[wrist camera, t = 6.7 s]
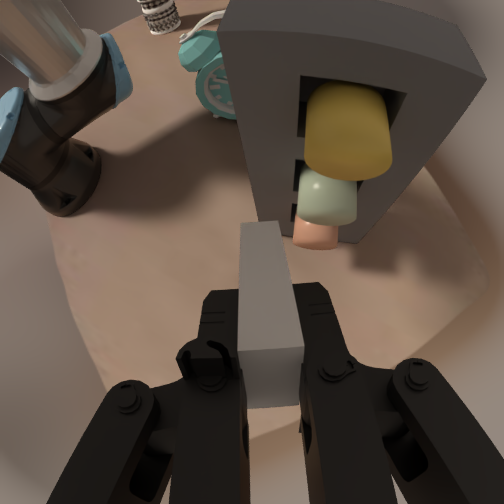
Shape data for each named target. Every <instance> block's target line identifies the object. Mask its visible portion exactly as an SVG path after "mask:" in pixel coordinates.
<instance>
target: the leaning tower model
mask: <svg viewBox="0 0 504 504" xmlns="http://www.w3.org/2000/svg"><path fill="white" fill-rule="evenodd" d="M137 1H138V2H140V3H141V6H142V10H143V12H144V13H143V16H144V17H145V21H147V26H148V27H149V30H150V31H151V34H154V35H162V34H166V33H168V32H171V31H173V30H174V29H176V28H177V27H178V26H179V25H180V23H181V21H180V19H179V18H180V17H179V15H178V12H177V10H176V9H177V8H176V6H175V3H174V1H173V0H137ZM149 23H150V24H149Z"/></svg>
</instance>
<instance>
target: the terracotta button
mask: <svg viewBox="0 0 504 504" xmlns="http://www.w3.org/2000/svg"><path fill="white" fill-rule="evenodd" d="M337 242H338V226H323V225H317V224H312V223H309V222H306V221H304V220H302V219H301V218H299V217H298V215H297V207H296V213H295V223H294V234H293V244H295V245H296V246H299V247H302V248H306V249H312V250H330V249H334V248H336V247H337Z"/></svg>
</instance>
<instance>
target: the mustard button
mask: <svg viewBox="0 0 504 504" xmlns="http://www.w3.org/2000/svg"><path fill="white" fill-rule="evenodd" d="M304 159H305V162H306V164H307V165H308V166H309V167H310V168H311V169H312V170H313V171H315V172H317V173H318V174H321V175H323V176H326V177H329V178H332V179H337V180H345V181H360V180H367V179H371V178H375V177H377V176H380V175H381V174H383V173H385V172H386V171H387V170H388V169H389V168H390V166H391V164H392V150H391V141H390V132H389V125H388V118H387V111H386V104H385V101H384V99H383V97H382V96H381V94H380V93H379V92H378V91H377V90H375V89H374V88H373V87H371V86H369V85H367V84H362V83H356V82H350V81H344V80H334V81H330V82H326V83H324V84H322V85H320V86H318V87H317V88H315V89H314V90H313V91H312V92H311V94H310V95H309V97H308V100H307V114H306V132H305V149H304Z"/></svg>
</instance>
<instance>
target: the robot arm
mask: <svg viewBox="0 0 504 504" xmlns="http://www.w3.org/2000/svg"><path fill="white" fill-rule="evenodd" d="M0 54H1V55H2V56H3V57H5V58H6V59H7V60H8V61H10V62H11V63H12V64H13V65H14V66H16V67H17V68H18V69H19V70H21V71H22V72H23V73H24V74H25V75H27V76H28V77H29V88H28V89H27V90H26V91H23V89H22V88H19V87H14V88H13V89H11V90H9V91H8V92H7V93H6V94H5V95H4V96H3V97H2V98H1V99H0V171H1V172H3V173H4V174H6V175H7V176H9V177H10V178H12V179H13V180H15V181H17V182H18V183H20V184H21V185H23V186H25V187H26V188H28V189H30V190H31V192H32V193H33V195H34V196H35V198H36V199H37V200H38V202H39V203H40V205H41V206H42V207H43V208H44V209H45V210H46V211H48V212H49V213H51V214H53V215H55V216H66V215H69V214H71V213H73V212H75V211H76V210H78V209H79V208H80V207H81V206H82V205H83V204H84V203H85V202H86V201H87V200H88V199H89V197H90V196H91V194H92V193H93V191H94V189H95V187H96V185H97V183H98V180H99V177H100V172H101V160H100V156H99V154H98V153H97V152H96V150H95V149H94V148H93V147H92V146H90V145H89V144H87V143H85V142H83V141H80V140H77V139H74V138H71V137H72V136H73V135H75V134H76V133H77V132H79V131H80V130H81V129H83V128H84V127H86V126H87V125H89V124H90V123H91V122H93V121H94V120H96V119H97V118H99V117H100V116H102V115H103V114H105V113H107V112H108V111H110V110H111V109H114V108H116V106H117V105H118V104H119V103H121V102H122V101H124V100H125V99H127V98H128V97H129V96H130V95H131V93H132V91H133V84H132V80H131V77H130V74H129V72H128V69H127V67H126V65H125V63H124V60H123V57H122V54H121V52H120V50H119V48H118V46H117V44H116V42H115V40H114V38H113V36H112V35H111V34H109V33H105V34H102V35H98V34H97V33H96V32H95V31H92V30H89V29H80V28H79V26H78V25H77V24H76V22H75V21H74V19H73V18H72V17H71V15H70V13H69V12H68V11H67V9H66V8H65V6H64V5H63V3H62V2H61V0H0ZM201 313H202V315H201V318H200V325H199V331H198V337H197V338H196V339H194V340H192V341H190V342H188V343H186V344H185V345H184V346H183V347H182V348H181V349H180V350H179V352H178V354H177V356H176V361H177V363H178V366H179V368H180V371H181V373H182V376H183V378H181V379H179V380H178V381H176V382H173V383H170V384H167V385H163V386H159V387H154V388H149V386H148V385H147V384H145V383H143V382H141V381H137V380H127V381H123V382H120V383H118V384H117V385H115V386H113V387H112V388H111V390H110V391H109V392H108V393H107V394H106V396H105V398H104V399H103V402H102V403H101V404H100V406H99V408H98V410H97V411H96V413H95V415H94V417H93V418H92V420H91V422H90V423H89V425H88V427H87V429H86V431H85V432H84V434H83V436H82V437H81V439H80V442H79V443H78V445H77V447H76V448H75V450H74V452H73V454H72V456H71V457H70V459H69V461H68V463H67V465H66V467H65V468H64V471H63V472H62V474H61V476H60V478H59V480H58V482H57V484H56V486H55V488H54V490H53V491H52V493H51V495H50V497H49V500H48V501H47V503H46V504H160V502H161V500H162V497H163V495H164V492H165V490H166V487H167V485H168V482H169V479H170V477H171V486H170V496H169V504H250V462H249V425H248V420H247V409H253V408H270V407H283V406H294V405H299V400H300V407H301V419H300V427H299V433H302V440H303V447H304V456H305V465H306V474H307V483H308V491H309V502H310V504H398V503H397V498H396V494H395V489H394V485H393V480H392V476H393V478H394V480H395V482H396V483H397V485H398V487H399V489H400V491H401V492H402V494H403V496H404V498H405V500H406V501H407V503H408V504H504V459H503V457H502V456H501V454H500V453H499V451H498V450H497V449H496V447H495V446H494V444H493V443H492V441H491V440H490V438H489V437H488V436H487V434H486V433H485V431H484V430H483V429H482V427H481V426H480V424H479V423H478V422H477V420H476V419H475V417H474V416H473V415H472V413H471V412H470V411H469V409H468V408H467V407H466V405H465V404H464V403H463V401H462V400H461V399H460V398H459V396H458V395H457V394H456V392H455V391H454V390H453V388H452V387H451V386H450V384H449V383H448V382H447V381H446V379H445V378H444V377H443V376H442V374H441V373H440V372H439V371H438V369H437V368H436V367H435V366H433V365H432V364H431V363H430V362H428V361H426V360H423V359H418V358H410V359H407V360H403V361H402V362H401V363H399V364H398V365H397V366H396V368H395V370H392V369H382V368H374V367H369V366H366V365H363V364H361V363H359V362H358V361H357V360H356V359H355V358H354V357H353V356H352V355H350V353H349V351H348V349H347V347H346V344H345V340H344V337H343V334H342V331H341V328H340V325H339V322H338V319H337V316H336V314H335V310H334V307H333V305H332V301H331V299H330V296H329V293H328V291H327V290H326V289H325V288H324V287H323V286H322V285H321V284H320V283H319V282H313V283H300V284H292V282H291V277H290V272H289V268H288V263H287V258H286V254H285V249H284V245H283V240H282V236H281V231H280V227H279V223H278V221H263V222H248V223H241V233H240V266H239V289H229V290H212V291H210V293H209V294H208V295H207V297H206V298H205V299H204V301H203V306H202V312H201ZM391 474H392V476H391ZM171 475H172V476H171Z"/></svg>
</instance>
